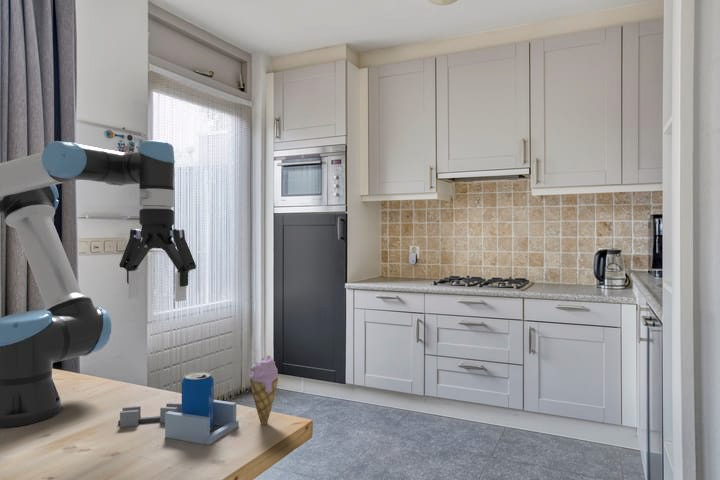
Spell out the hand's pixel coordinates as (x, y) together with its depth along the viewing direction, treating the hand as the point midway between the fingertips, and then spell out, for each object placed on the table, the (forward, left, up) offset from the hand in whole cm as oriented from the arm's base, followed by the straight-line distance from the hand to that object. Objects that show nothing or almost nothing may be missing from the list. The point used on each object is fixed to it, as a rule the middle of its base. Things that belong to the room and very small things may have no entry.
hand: (157, 299), depth 115 cm
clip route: (+3, -5, -27) cm, 27 cm away
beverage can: (+16, -5, -27) cm, 31 cm away
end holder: (+16, -5, -27) cm, 32 cm away
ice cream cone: (+27, +3, -27) cm, 38 cm away
